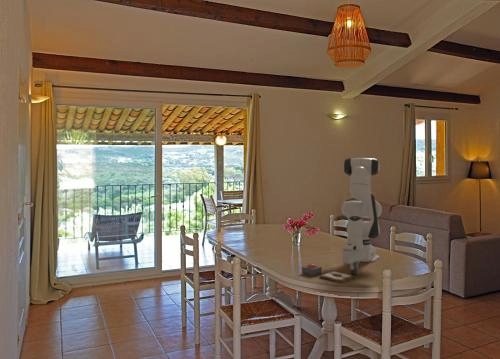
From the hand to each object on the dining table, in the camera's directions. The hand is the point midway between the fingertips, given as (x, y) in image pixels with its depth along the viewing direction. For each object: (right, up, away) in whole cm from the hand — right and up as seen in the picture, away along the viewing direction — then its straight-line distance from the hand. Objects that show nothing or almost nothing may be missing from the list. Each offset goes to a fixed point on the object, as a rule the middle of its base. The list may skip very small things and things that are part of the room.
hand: (354, 268), depth 246 cm
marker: (0, -4, 0) cm, 4 cm away
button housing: (-24, -3, +2) cm, 24 cm away
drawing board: (-11, -4, -6) cm, 13 cm away
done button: (-24, -1, +2) cm, 24 cm away
